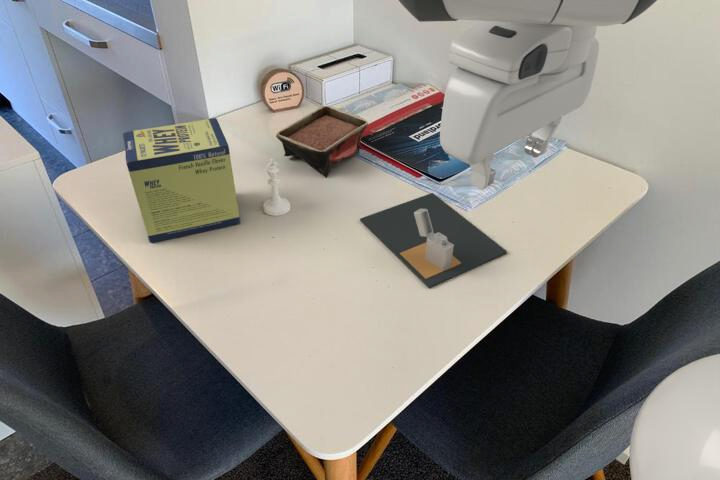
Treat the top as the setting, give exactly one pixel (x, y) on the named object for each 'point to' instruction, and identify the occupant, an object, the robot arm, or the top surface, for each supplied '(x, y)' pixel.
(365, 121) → the rectangular plant pot
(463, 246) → the mat
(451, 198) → the top surface
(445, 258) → the lighter
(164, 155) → the protein box
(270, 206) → the chess piece
